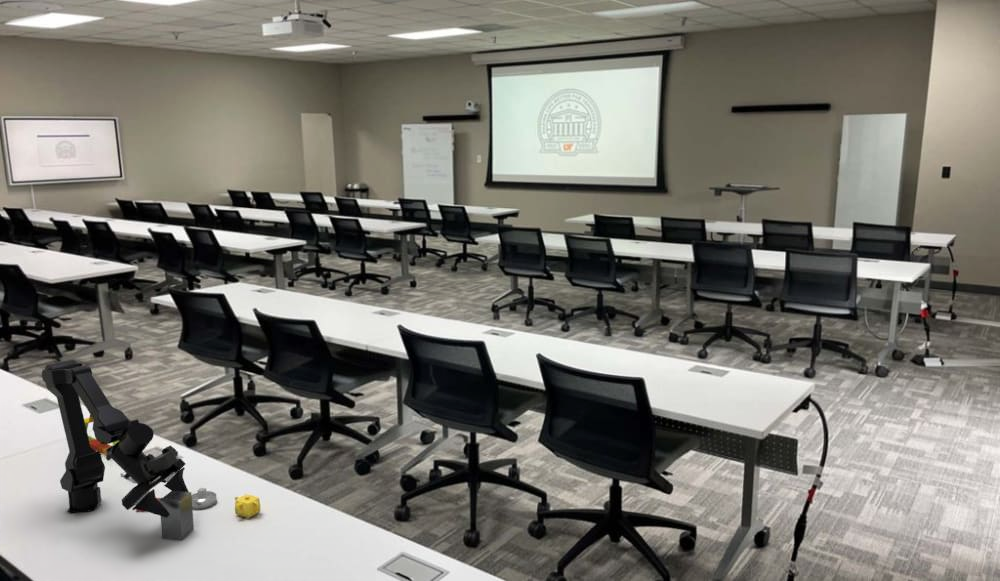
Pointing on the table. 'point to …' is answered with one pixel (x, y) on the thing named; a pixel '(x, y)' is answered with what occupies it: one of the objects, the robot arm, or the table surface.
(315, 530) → the table surface
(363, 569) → the table surface
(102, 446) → the chart
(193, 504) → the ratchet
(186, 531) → the brushed steel square block
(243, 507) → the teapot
